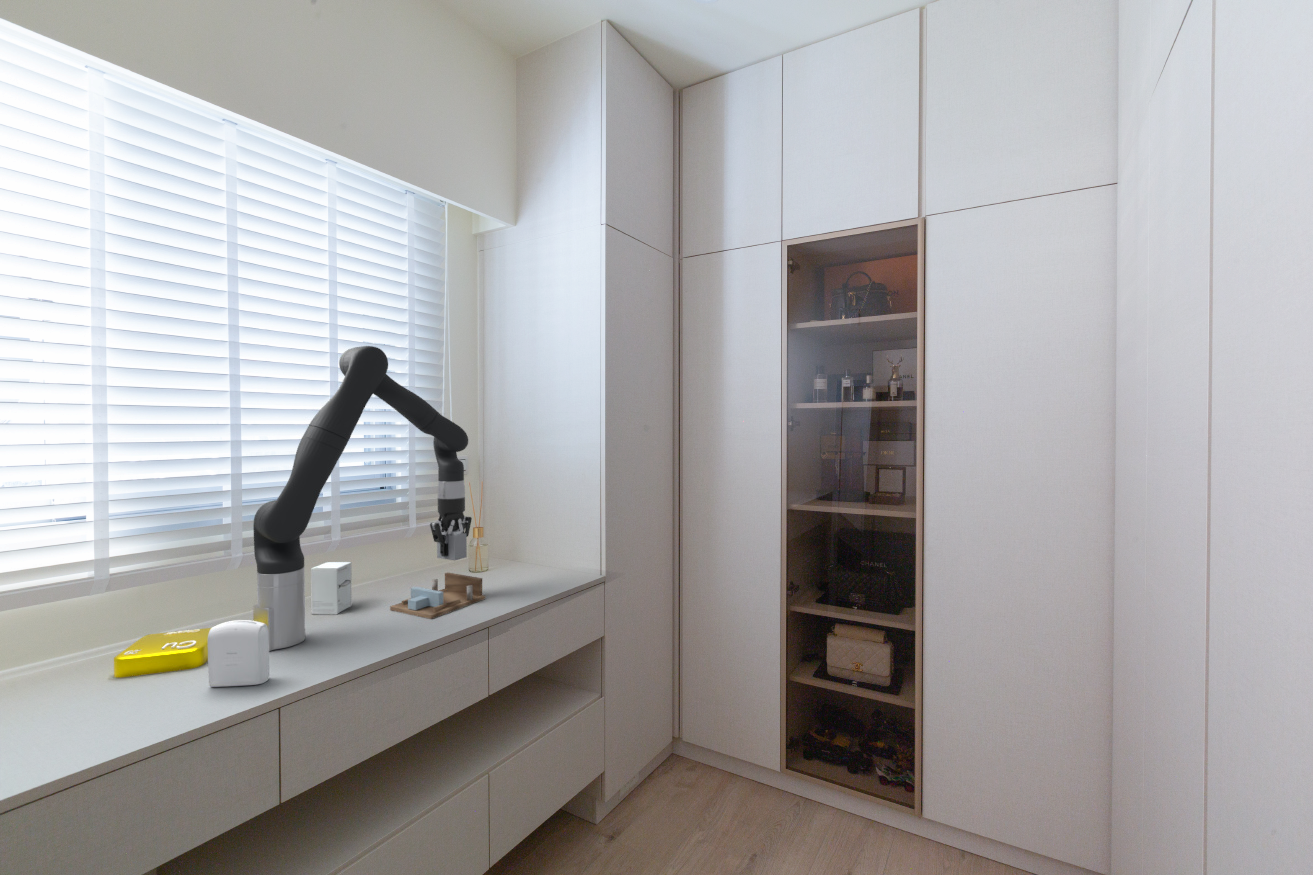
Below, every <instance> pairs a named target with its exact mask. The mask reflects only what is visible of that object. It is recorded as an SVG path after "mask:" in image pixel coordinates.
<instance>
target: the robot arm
mask: <svg viewBox="0 0 1313 875" xmlns="http://www.w3.org/2000/svg"><path fill="white" fill-rule="evenodd" d="M338 364H339V369H340V372H341V373H342V374H343V376H344V378H343V379H342V382H341V384H340V386H339V387H338V389H337V391H336V392H335V393H334V395H333V396H332V397H331V398H329V400H328V401H327V402H326V403H325V404H324V405H322V407H321V408H320V409H319V410H318V412H317V413H316V414H315V416H314V417H313V419H311V421H310V422H309V424H308V426H307V428H306V430H305V432H304V434H303V435H302V437H301V439H300V442H299V443H298V446H297V449H296V453H295V456H294V459H293V465H292V469H291V473H290V476H289V479H287V483H285V486H284V487H283V490H282V491H281V493H280V494H279V495H278V497H277V499H275V500H270V501H267V502H265V503H264V504H263V505H261V506H260V507H259V508H258V509H257V511H256V513H255V515H254V518H253V526H252V527H253V550H254V551H253V552H254V554H253V555H254V560H255V563H256V581H257V582H256V584H257V586H256V588H257V589H256V592H257V594H256V595H257V596H256V599H257V601H256V602H257V603H256V604H254V605H253V608H252V612H253V613H252V614H253V615H252V618H253V619H252V621H257V622H261V623H264V624H266V625H267V627H268V637H269V652H270V651H271V652H272V651H273V650H274V651H275V650H279V649H285V648H289V647H293V646H297V645H298V644H300V643H302V642H304V640H305V639H306V613H305V612H306V611H305V610H306V606H305V601H306V600H305V598H306V595H305V593H306V591H305V587H306V586H305V582H306V581H305V577H306V576H305V575H306V574H305V555H304V553H303V550H302V547H301V542H300V541H301V539H300V538H301V535H303V533H304V532H305V531H306V529H307V528H308V524H309V522H310V519H311V517H312V514H313V512H314V510H315V506H316V504H317V502H318V499H319V497H320V494H321V492H322V489H323V488H324V487H325V485H326V483H327V481H328V479H329V478H330V476H331V474H332V472H333V471H334V468H335V467H336V465H337V463H338V461H339V459H340V458H341V456H342V454H343V452H344V451H345V449H346V447H347V445H348V442H349V441H350V438H351V436H352V435H353V432H354V430H355V428H356V426H357V424H358V422H359V421H360V418H361V416H362V414H363V412H364V410H365V408H366V406H367V404H368V403H369V401H370V399H371V398H372V396H373V395H375V396H376V397H377V398H378V399H380V400H382V401H383V402H384V403H386V405H389V406H390V407H391V408H393V410H395V411H396V412H398V413H399V414H400V415H401V416H402V417H404V418H405V419H406V420H408V422H409V423H411V424H412V425H413V426H414V427H415V428H417V429H418V430H419V431H420V432H422V433H424V434H426V435H429V436H431V437H433V442H432V443H433V450H434V455H435V459H436V462H437V467H438V474H437V476H438V477H437V478H438V483H437V513H438V514H439V517H438V520H437V521H435V522H430V524H429V527H430V530H431V535H432V539H433V542H434V543H437V542H438V543H440V554H441V555H442V556H444V557H447V556H448V544H447V543H448V541H449V535H451V533H452V531H454V530H457V531H461V533H466V538H467V537H469V534H470V530H471V523H472V516H465V514H464V512H465V511H466V486H465V466H464V463H463V461H461V460H459V458H458V453H459V452H462V451H464V450H465V449H466V448H467V447H468V446H469V436H468V434H467V432H466V431H465V430H464V429H463V427H461V426H459V425H458V424H457V423H455V422H454V421H452V420H450V419H449V418H447V417H445V416H444V415H442V414H441V413H440V412H439V411H438V410H436V409H435V408H434V406H432V405H431V404H429V403H428V401H426V400H425V399H424V398H422V397H420V396H419V395H418V394H416V393H414V392H413V391H411V390H409V389H408V388H406V387H404V386H403V385H401V384H399V382H397V381H395V380H394V379H393V378H391V377H390V376H389V375H388V374H387V373H388V369H389V360H388V357H387V355H386V353H385V352H384V350H382V349H381V348H380V347H377V346H373V345H361V346H356V347H352V348H349V349H347V350H345V351H344V352H343V353H342V354H341V356H340V357H339V361H338ZM445 531H447V532H445ZM444 535H445V539H444Z"/></svg>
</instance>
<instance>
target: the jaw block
mask: <svg viewBox="0 0 1313 875" xmlns="http://www.w3.org/2000/svg"><path fill="white" fill-rule="evenodd" d="M445 532H447V531H445ZM444 539H445V535H444ZM447 544H448V556H447V557H444V556H442V555H441V554H440V543H438V542H436V558H437V559H443V560H450V561H454V562H455V561H459V560H462V559H465V558H467V554H468V552H467V551H468V550H467V544H468V543H467V537H466V533H461V531H457V530H454V531H452V533H451V535H449V541H448V543H447Z"/></svg>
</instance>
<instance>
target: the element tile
mask: <svg viewBox="0 0 1313 875" xmlns="http://www.w3.org/2000/svg"><path fill="white" fill-rule="evenodd" d="M211 628H212V627H206V628H205V627H204V628H195V629H186V630H178V631H167V632H158V633H150V634H147V635H144V636H142V637H141V638H139V639H138V640H136V641H135V642H134V643H132V644H130V645H129V646H128V647H127V648H125V649H124V650H122V651H121V652H120V653H119V654H117V655H116V656H114V657H113V677H114V678H115V679H119V678H120V679H122V678H130V677H138V676H145V675H147V676H148V675H153V674H162V673H171V672H178V671H187V670H192V669H196V668H200V667H202V666H204V665H205V664H206V663H208V634H209V631H210V629H211Z"/></svg>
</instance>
